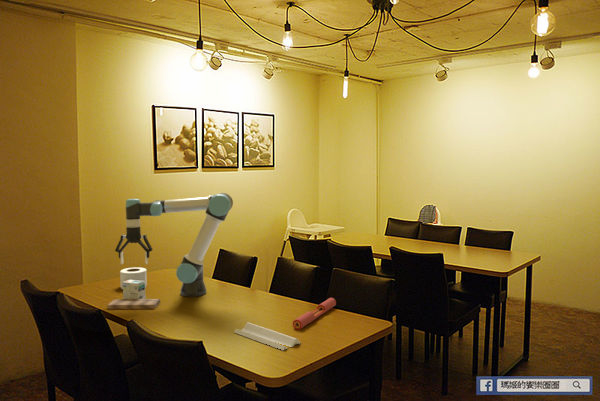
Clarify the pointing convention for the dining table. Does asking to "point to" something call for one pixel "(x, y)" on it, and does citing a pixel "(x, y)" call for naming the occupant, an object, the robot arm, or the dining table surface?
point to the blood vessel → (314, 314)
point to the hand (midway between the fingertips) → (134, 263)
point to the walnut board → (134, 304)
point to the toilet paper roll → (133, 275)
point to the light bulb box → (134, 289)
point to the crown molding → (267, 336)
